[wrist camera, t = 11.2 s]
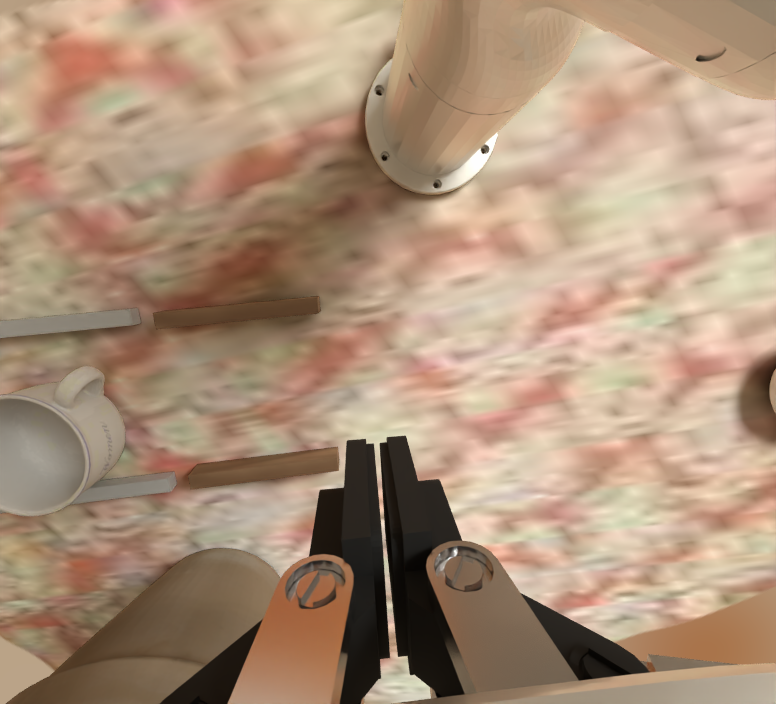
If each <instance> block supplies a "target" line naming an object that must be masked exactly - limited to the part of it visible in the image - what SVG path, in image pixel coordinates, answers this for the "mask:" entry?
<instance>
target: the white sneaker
mask: <svg viewBox="0 0 776 704" xmlns="http://www.w3.org/2000/svg"><path fill="white" fill-rule="evenodd" d="M769 395H770V401H771V404H772V407H773V410H774V412H775V414H776V369H775V371H774V373H773V375H772V378H771V381H770V387H769Z"/></svg>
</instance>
